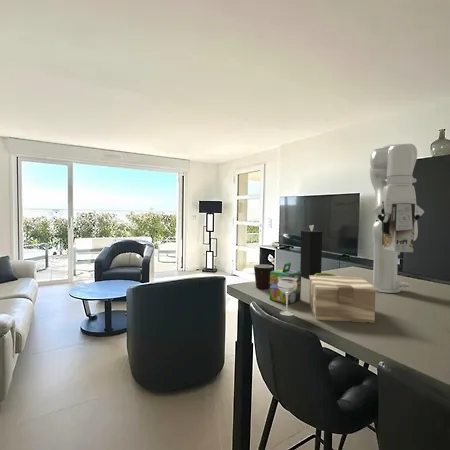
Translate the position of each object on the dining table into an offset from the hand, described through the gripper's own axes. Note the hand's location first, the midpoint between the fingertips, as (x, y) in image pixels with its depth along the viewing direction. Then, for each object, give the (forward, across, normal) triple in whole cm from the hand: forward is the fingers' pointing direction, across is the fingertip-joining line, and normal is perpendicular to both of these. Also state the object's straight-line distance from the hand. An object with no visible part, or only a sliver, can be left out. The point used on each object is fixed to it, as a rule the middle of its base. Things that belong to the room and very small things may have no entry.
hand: (397, 233), depth 104 cm
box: (+28, +19, +3) cm, 34 cm away
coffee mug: (+28, +47, -26) cm, 60 cm away
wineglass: (+28, +37, +7) cm, 47 cm away
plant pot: (+28, +20, -18) cm, 39 cm away
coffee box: (+6, 0, 0) cm, 6 cm away
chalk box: (+28, +37, -9) cm, 47 cm away
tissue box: (+28, +22, -53) cm, 64 cm away
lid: (+22, +19, +3) cm, 29 cm away
